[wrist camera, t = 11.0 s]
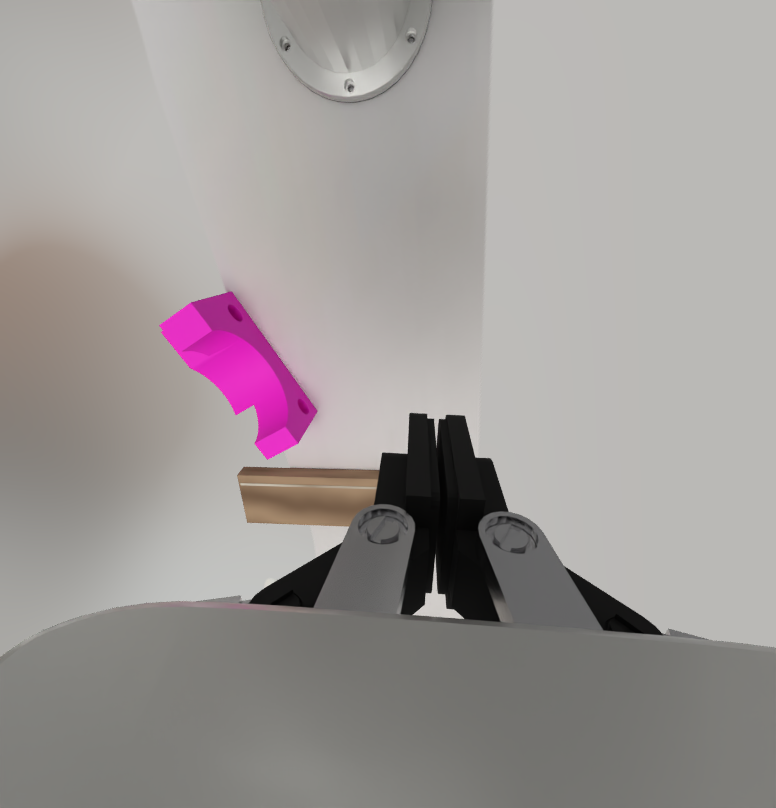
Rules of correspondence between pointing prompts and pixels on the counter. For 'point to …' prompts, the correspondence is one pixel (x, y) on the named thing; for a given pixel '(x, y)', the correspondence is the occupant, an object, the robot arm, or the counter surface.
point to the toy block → (242, 368)
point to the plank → (306, 495)
